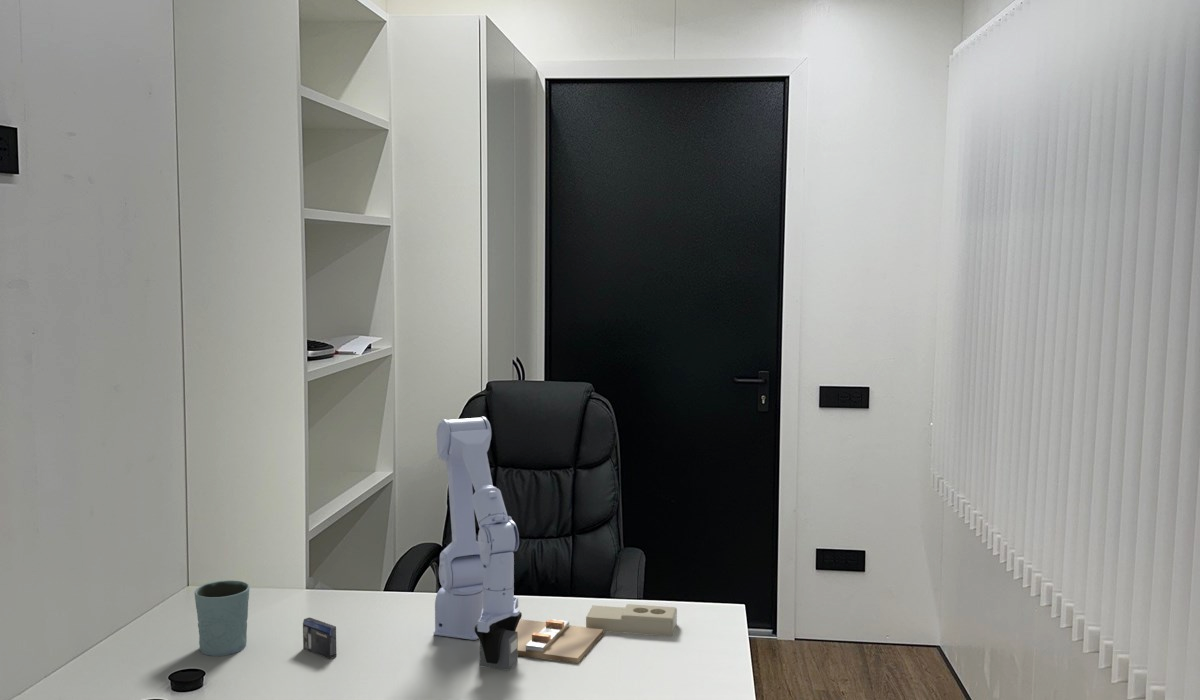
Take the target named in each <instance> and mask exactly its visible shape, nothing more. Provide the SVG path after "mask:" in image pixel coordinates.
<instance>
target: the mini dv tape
mask: <svg viewBox="0 0 1200 700" xmlns="http://www.w3.org/2000/svg"><path fill="white" fill-rule="evenodd" d="M302 644H303V646H302V648H303V650H306V651H308V652H311V653H313V654H316V655H318V656H322V657H324V658H326V659H329V660H330V659H331V660H332V659H334V658H336V657H337V655H338V654H337V627H336V626H335V625H333V624H331V623H326V622H324V621H321V620H319V619H315V618H312V617H306V618H304V619H303V621H302Z"/></svg>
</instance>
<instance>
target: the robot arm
mask: <svg viewBox="0 0 1200 700" xmlns="http://www.w3.org/2000/svg"><path fill="white" fill-rule="evenodd" d="M435 435H436V443H437V444H436V447H437V454H438V459H439V460H442V461H444V462H445V465H446V470H447V481H448V482H447V483H448V484H447V485H448V496H449V497H448V500H449V511H450V512H449V513H450V525H451V526H450V528H451V542H450V543H449V544H447V546H446V547H445V548H444V549H443V550H441V552H440V553H439V566H438V579H439V583H440V585H441V587H440V588H439V590H438V591H437V593H436V597H435V601H434V631H433V635H434V636H440V637H448V638H456V639H464V640H470V641H471V640H472V641H476V640H477V639H479V643H480V642H481V644H482V647H483V651H484V655H485V659H486V662H487V663H493V664H497V663H498V660H499V655H500V646H501V641H502V637H503V635H504V632H505V630H509V631H516V628H517V625H518V623H519V621H520V620H521V618H522V614H523V613H522V612H520V609H518V608H519V597H516V596H515V595H514V592H515V584H514V583H515V578H514V577H515V576H514V575H515V570H514V569H515V568H514V567H515V566H514V565H515V561H514V560H515V557H514V555H515V554H514V552H517V551H518V549H519V545H520V533H519V530H518V527H517V524H516V522H515V521H514V520H513V519H512V516H510V515H508V511H507V509H506V506H505V501H504V498H503V495H502V491H501V490H500V489H499V488H497V486H494V485H493V478H492V475H491V468H490V462H489V458H488V451H489V449H490V446H491V440H492V426H491V423H490V421H489V420H488V418H487V417H486V416H480V417H471V418H470V417H469V418H468V417H467V418H456V419H455V418H454V419H453V418H452V419H445V418H443V419H441V420H440V421H439V422H438V425H437V428H436V434H435ZM473 489H474V491H473ZM475 517H476V519H475ZM476 520H477V523H478V528H479V530H478V535H477V533H476V522H475V521H476ZM473 555H474V556H473Z"/></svg>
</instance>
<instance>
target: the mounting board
mask: <svg viewBox="0 0 1200 700" xmlns="http://www.w3.org/2000/svg"><path fill="white" fill-rule="evenodd" d="M545 627H546V621H538V620H529V619H520V621H519V623H518V625H517V628H516V632H518V656H520V657H527V658H535V659H543V660H551V661H557V662H564V663H572V664H578V663H580V661H582V659H583V658H584V657H585V656H586V655H587V654H588V653H589V651H590V650H591V649H592V648H593V646H594V645H595V644H596V643H597V642H598V641H599V640H600V639H601V637H603V635H604V633H605V631H604V629H597V628H589V627H586V626H580V625H572V624H569V627H568V628H567V629H566V630H565V631H564V632H563V633H562V634H561V635H560V636H559V637H558V638H557V639H556V640H555V641H554V642H553V643H552V644H551V645H550V646H549V647H548V648H547V649H546V650H545V651H544V652H535V651H527V650H526V645H527V644H528V643H529V642H530V641H531V640H532V634H533V633H539V632H540V631H541V630H543V629H544V628H545Z"/></svg>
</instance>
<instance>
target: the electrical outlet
mask: <svg viewBox="0 0 1200 700" xmlns="http://www.w3.org/2000/svg"><path fill="white" fill-rule="evenodd" d="M677 621H678V609H677V607H674V606H663V605H661V606H660V605H648V604H647V605H646V604H635V603H634V604H632V603H631V604H629V603H627V604H626V605H625V607H622V606H621V607H620V606H607V605H593V604H592V606H591V608H590V609H589V611H588V613H587V615H586V617H585V627H589V628H597V629H604V632H609V633H620V634H622V633H623V634H635V635H637V634H638V635H647V636H663V637H673V636H674V635H675V631H676V628H677Z"/></svg>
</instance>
